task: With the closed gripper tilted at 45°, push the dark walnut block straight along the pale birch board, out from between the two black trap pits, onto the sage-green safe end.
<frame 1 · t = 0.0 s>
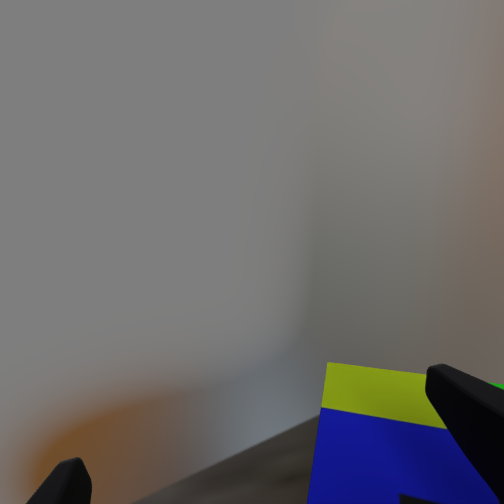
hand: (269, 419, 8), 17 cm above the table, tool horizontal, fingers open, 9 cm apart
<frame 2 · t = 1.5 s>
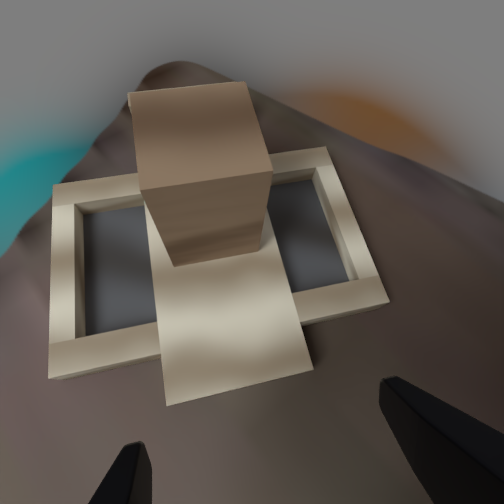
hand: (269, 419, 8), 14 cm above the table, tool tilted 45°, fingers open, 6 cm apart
walnut block: (209, 222, 23), point 2 cm above the table, touching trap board
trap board: (214, 251, 25), on the table
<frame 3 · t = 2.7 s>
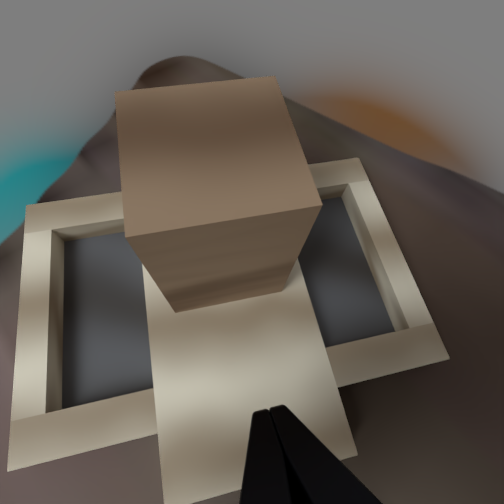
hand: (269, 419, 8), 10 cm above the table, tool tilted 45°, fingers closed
walnut block: (219, 253, 19), point 2 cm above the table, touching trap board
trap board: (225, 288, 20), on the table
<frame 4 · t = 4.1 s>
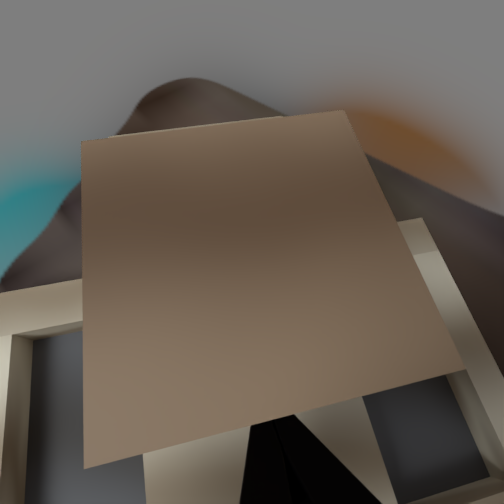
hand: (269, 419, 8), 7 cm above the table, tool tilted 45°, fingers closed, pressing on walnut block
walnut block: (238, 331, 14), point 2 cm above the table, touching gripper
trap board: (251, 405, 15), on the table
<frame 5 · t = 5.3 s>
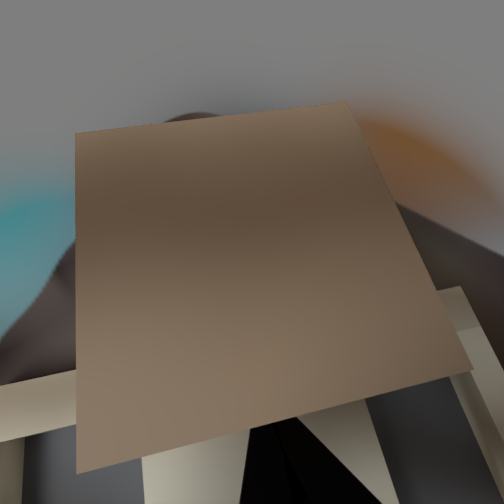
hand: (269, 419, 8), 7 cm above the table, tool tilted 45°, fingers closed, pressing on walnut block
walnut block: (238, 329, 14), point 2 cm above the table, touching gripper, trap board
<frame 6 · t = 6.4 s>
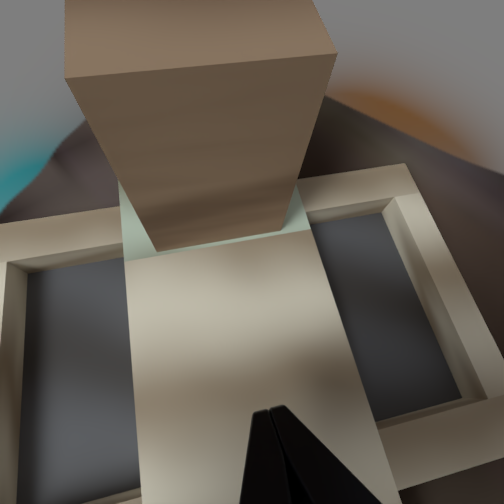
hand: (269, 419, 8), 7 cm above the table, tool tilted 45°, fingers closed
walnut block: (209, 189, 16), point 2 cm above the table, touching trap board
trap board: (237, 335, 15), on the table
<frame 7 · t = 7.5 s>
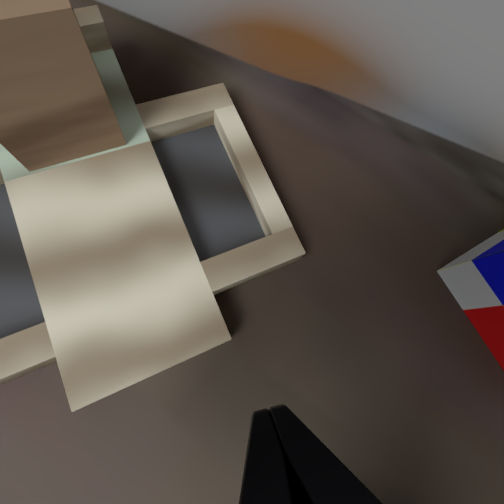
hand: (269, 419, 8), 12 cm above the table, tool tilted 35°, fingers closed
walnut block: (66, 119, 21), point 2 cm above the table, touching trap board
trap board: (109, 226, 21), on the table
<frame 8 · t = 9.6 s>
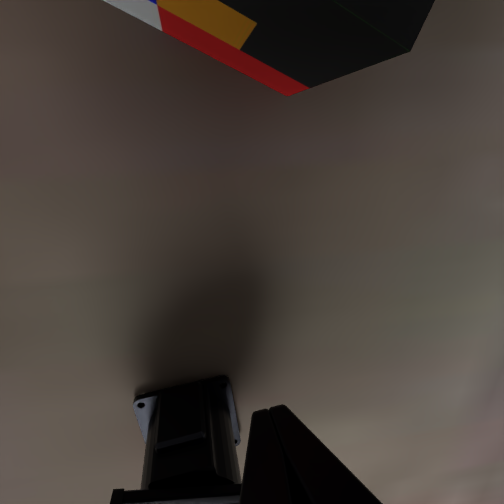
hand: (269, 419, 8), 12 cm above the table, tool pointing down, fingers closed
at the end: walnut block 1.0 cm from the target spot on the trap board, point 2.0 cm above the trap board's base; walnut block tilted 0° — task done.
